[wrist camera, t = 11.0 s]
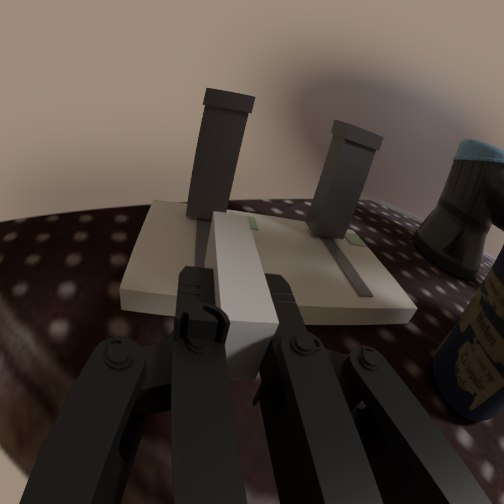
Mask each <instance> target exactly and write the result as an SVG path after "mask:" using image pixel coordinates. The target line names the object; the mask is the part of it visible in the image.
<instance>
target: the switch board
mask: <svg viewBox="0 0 504 504" xmlns="http://www.w3.org/2000/svg"><path fill="white" fill-rule="evenodd" d="M186 209H187V204H183V203H175V202H167V201H158V200H153V202H152V205H151V207H150V209H149V212H148V214H147V216H146V219H145V221H144V224H143V226H142V229H141V231H140V234H139V236H138V239H137V241H136V244H135V246H134V249H133V252H132V254H131V257H130V260H129V262H128V265H127V268H126V271H125V274H124V277H123V280H122V282H121V285H120V288H119V289H120V302H121V310H127V311H134V312H142V313H150V314H158V315H167V316H175V312H176V300H177V289H178V279H179V273H180V272H181V271H182V270H183V268H184V267H185V266H193V267H202V268H205V257H206V251H207V245H208V239H209V234H210V228H211V222H212V220H210V219H202V218H195V217H187V216H186ZM226 213H231V214H238V215H245V216H247V219H248V222H249V225H250V228H251V232H252V235H253V238H254V242H255V245H256V248H257V251H258V255H259V258H260V261H261V265H262V268H263V271H264V273H269V274H279V275H281V276H282V277H283V278H284V279H285V280H286V281H287V282H288V283H289V285H290V288H291V290H292V293H293V295H294V298H295V300H296V303H297V305H298V308H299V311H300V313H301V316H302V318H303V321H304V323H305V325H379V324H406V323H408V322H409V321H410V319H411V318H412V316H413V315H414V313H415V312H416V310H417V309H418V308H417V307H416V306H415V304H414V303H413V302H412V300H411V299H410V298H409V297H408V295H407V294H406V293H405V291H404V290H403V289H402V288H401V286H400V285H399V284H398V283H397V281H396V280H395V279H394V278H393V277H392V275H391V274H390V273H389V272H388V270H387V269H386V268H385V267H384V266H383V264H382V263H381V262H380V261H379V260H378V258H377V257H376V256H375V255H374V254H373V253H372V251H371V250H370V249H369V248H368V247H367V245H366V244H365V243H364V242H363V241H362V240H361V239H360V237H359V236H358V235H357V234H356V233H355V232H354V231H353V230H348V229H347V232H346V234H345V237H344V239H337V238H330V237H324V236H318V235H313V233H312V232H311V230H310V229H309V227H308V226H307V224H306V223H305V222H303V221H297V220H291V219H285V218H279V217H273V216H267V215H260V214H254V213H247V212H241V211H234V210H227V211H226Z"/></svg>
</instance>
